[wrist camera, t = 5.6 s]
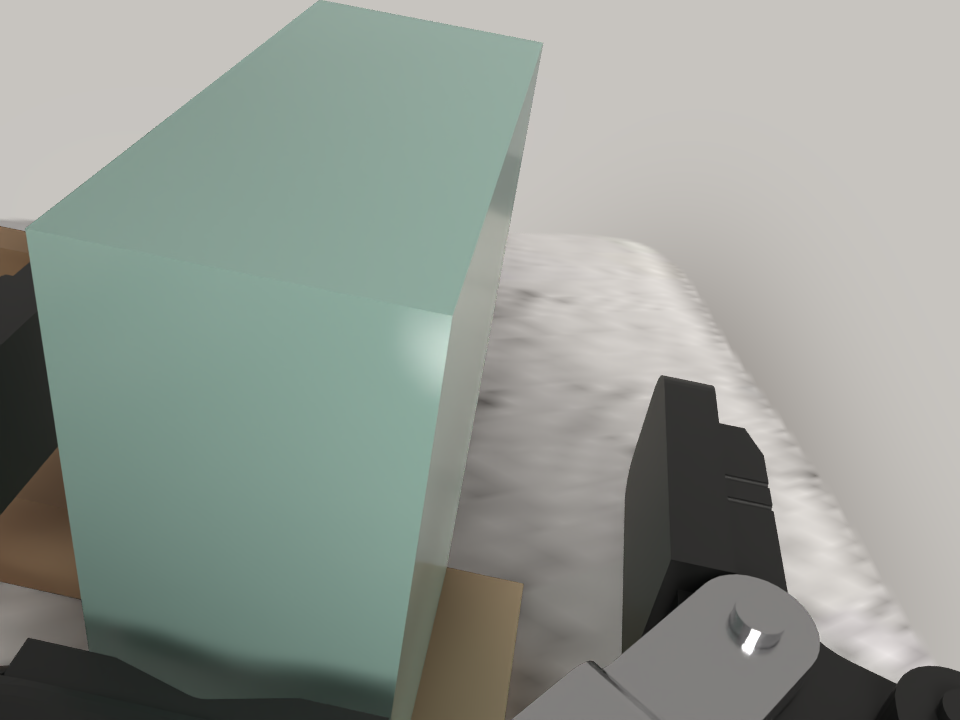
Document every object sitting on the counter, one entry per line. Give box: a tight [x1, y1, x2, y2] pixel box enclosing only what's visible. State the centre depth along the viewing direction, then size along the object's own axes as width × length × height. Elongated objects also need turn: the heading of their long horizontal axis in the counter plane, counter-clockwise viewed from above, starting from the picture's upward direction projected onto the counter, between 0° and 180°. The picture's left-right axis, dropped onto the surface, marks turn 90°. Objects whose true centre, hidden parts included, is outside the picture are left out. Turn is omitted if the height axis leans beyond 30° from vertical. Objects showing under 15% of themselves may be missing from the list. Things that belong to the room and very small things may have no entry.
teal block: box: [25, 0, 543, 720], centre depth 12 cm, size 3×7×10 cm, turn 171°
